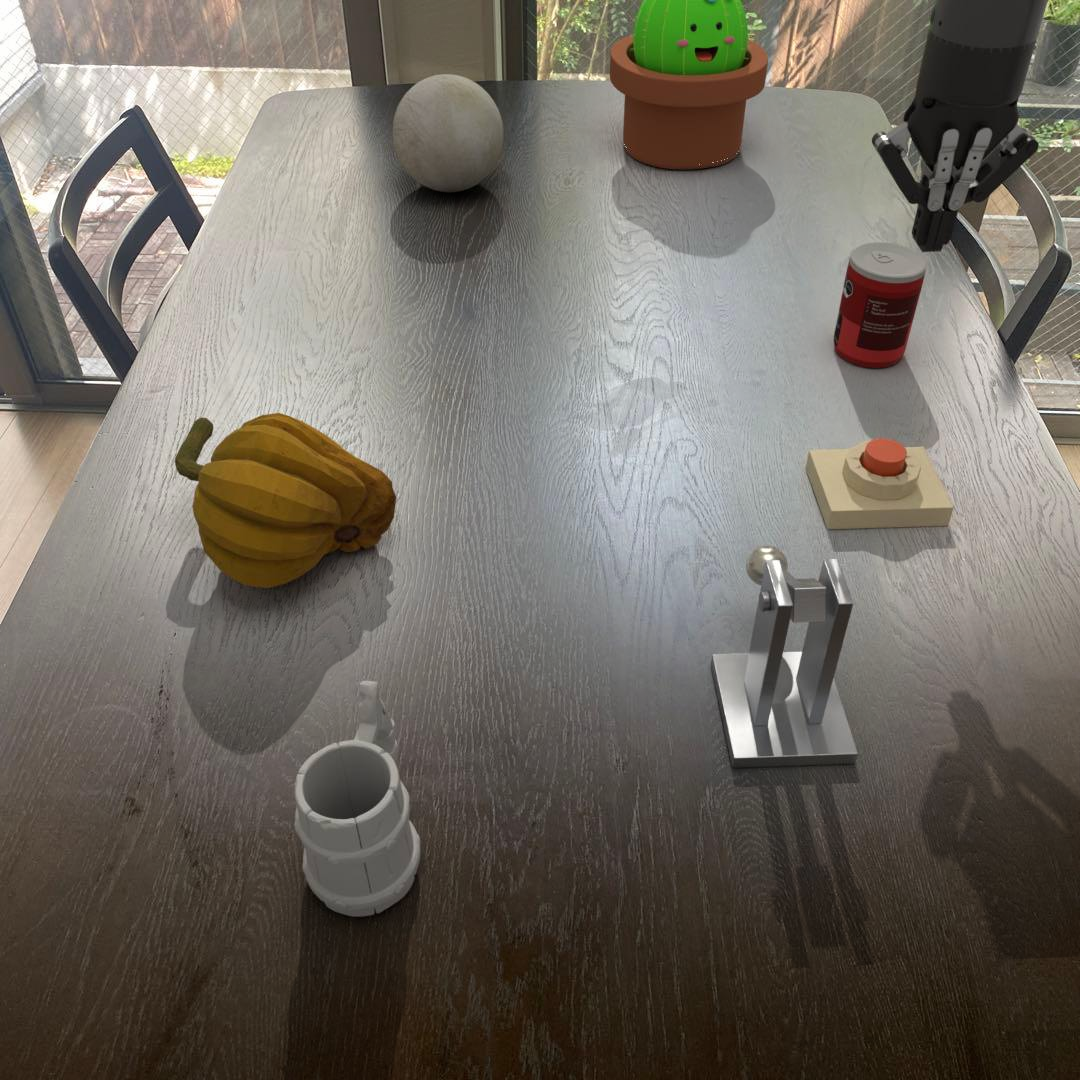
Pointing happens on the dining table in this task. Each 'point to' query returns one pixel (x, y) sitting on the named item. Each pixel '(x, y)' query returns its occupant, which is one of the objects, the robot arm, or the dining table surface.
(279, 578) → the pumpkin
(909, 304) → the canned food
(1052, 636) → the dining table surface
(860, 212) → the dining table surface
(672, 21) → the potted cactus
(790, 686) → the metal lever switch
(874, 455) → the button
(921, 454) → the button box
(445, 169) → the decorative sphere
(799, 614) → the grey lever handle
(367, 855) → the mug
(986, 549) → the dining table surface
